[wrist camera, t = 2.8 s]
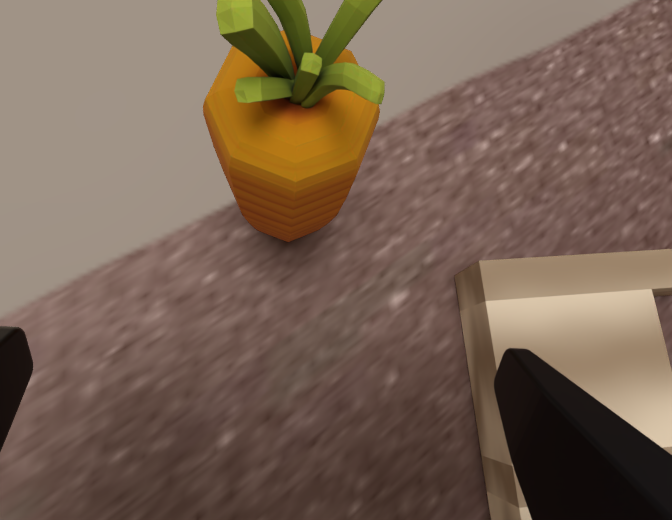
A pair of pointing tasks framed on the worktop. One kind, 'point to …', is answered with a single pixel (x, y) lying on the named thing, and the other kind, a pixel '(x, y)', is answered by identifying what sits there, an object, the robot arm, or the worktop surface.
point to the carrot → (291, 113)
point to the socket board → (567, 343)
